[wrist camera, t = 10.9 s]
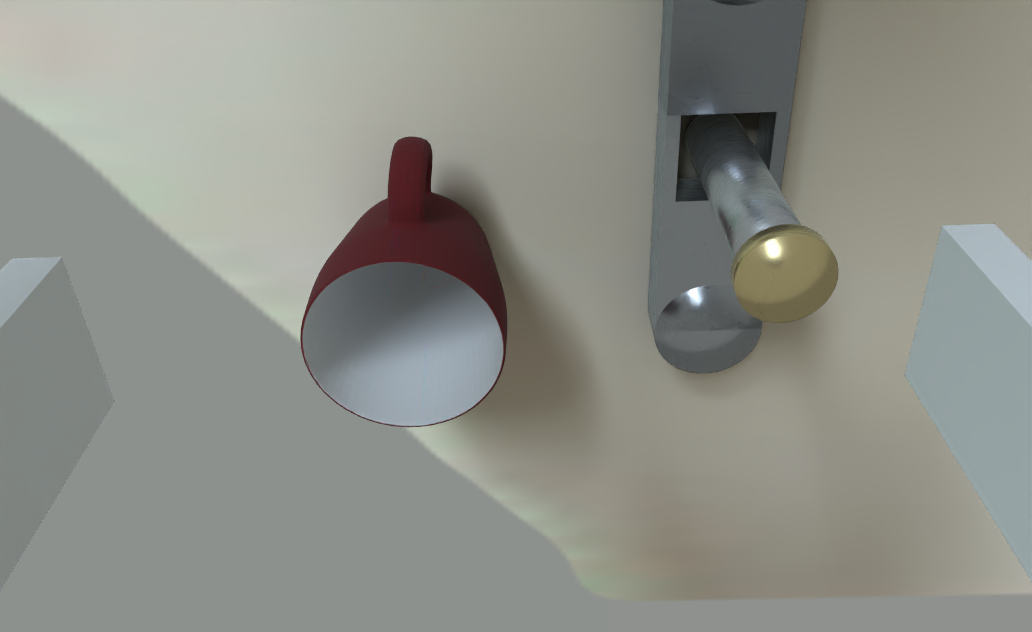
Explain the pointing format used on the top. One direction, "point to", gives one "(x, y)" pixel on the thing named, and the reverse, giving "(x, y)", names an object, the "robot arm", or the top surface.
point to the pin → (759, 225)
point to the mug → (408, 306)
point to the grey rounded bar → (682, 201)
